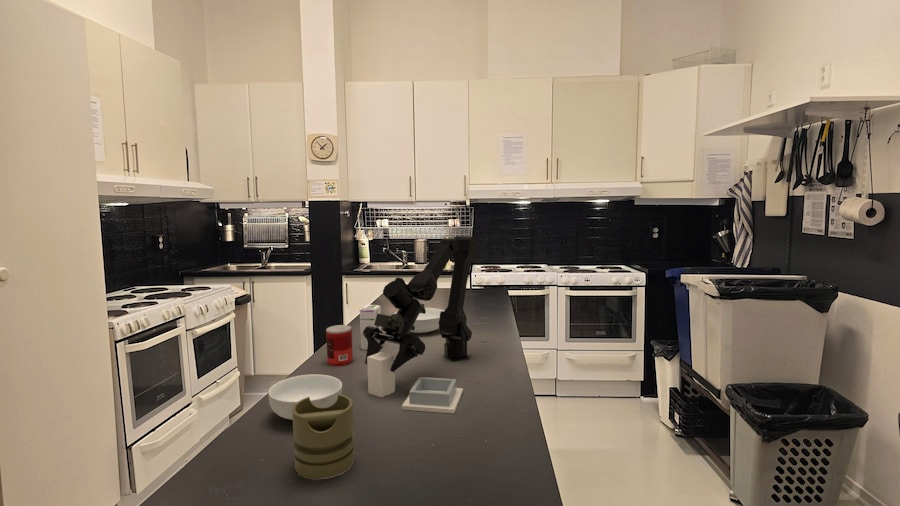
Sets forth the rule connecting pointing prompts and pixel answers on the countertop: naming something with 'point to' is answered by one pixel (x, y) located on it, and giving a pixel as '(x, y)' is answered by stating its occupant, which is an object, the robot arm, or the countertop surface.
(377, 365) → the plug
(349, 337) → the canned food
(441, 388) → the socket
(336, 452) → the piston
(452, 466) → the countertop surface
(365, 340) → the syrup box
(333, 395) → the cereal bowl
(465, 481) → the countertop surface
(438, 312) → the serving bowl
